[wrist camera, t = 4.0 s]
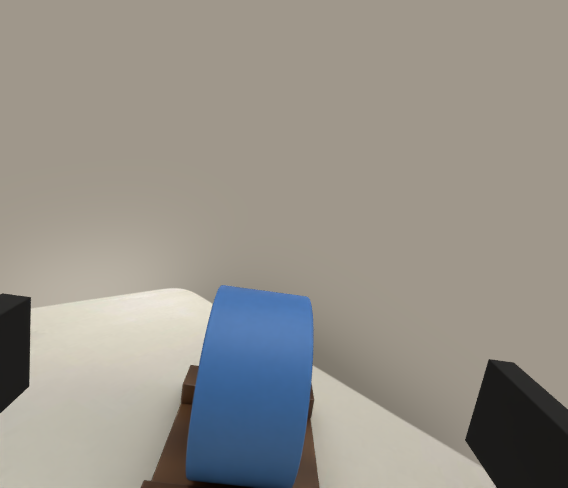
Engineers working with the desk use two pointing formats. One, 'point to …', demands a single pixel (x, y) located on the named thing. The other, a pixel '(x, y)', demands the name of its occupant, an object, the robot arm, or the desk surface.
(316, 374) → the desk surface
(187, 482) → the tape holder
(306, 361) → the tape roll
